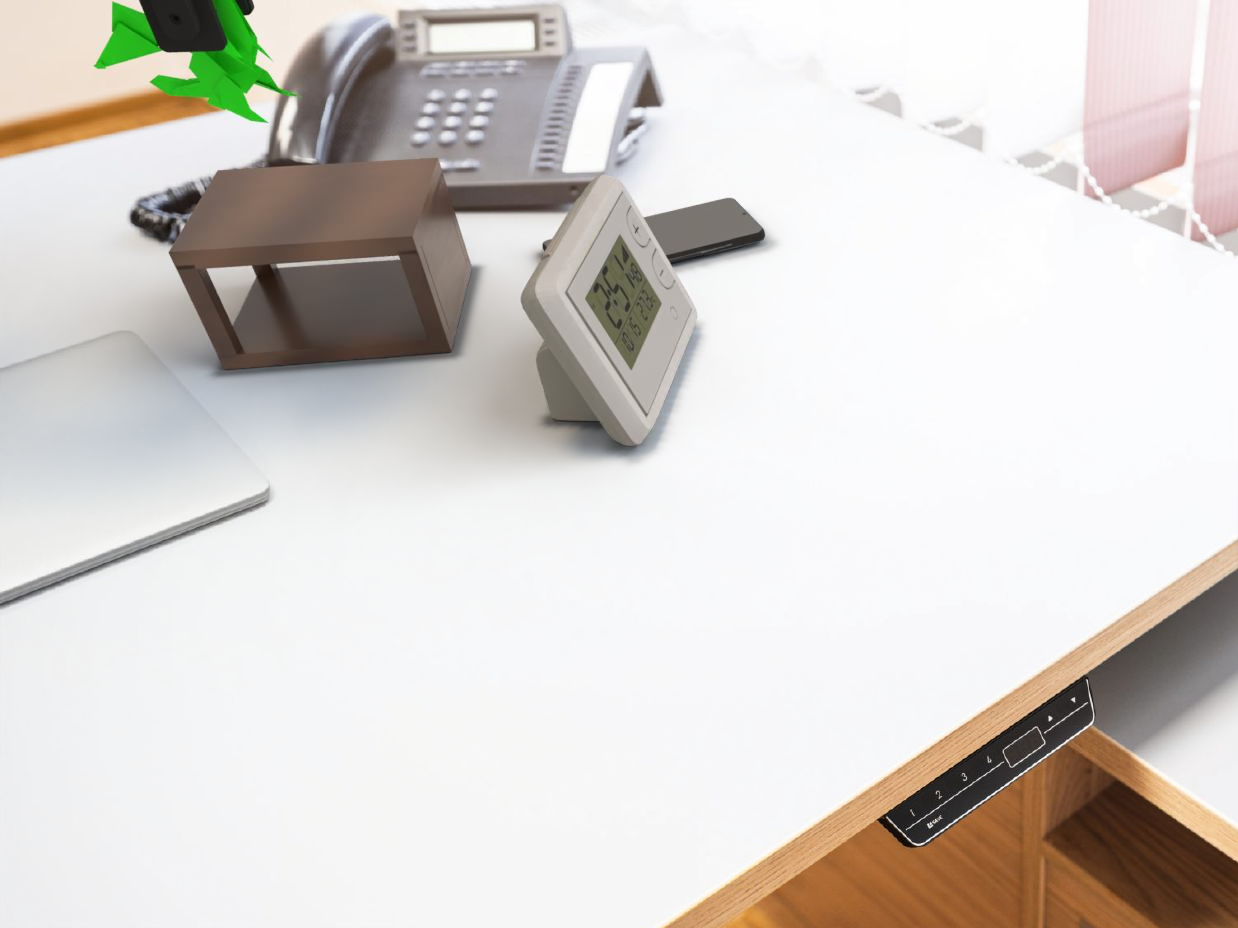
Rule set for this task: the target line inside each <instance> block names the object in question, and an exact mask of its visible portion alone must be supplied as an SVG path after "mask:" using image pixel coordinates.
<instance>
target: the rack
mask: <svg viewBox="0 0 1238 928" xmlns="http://www.w3.org/2000/svg"><path fill="white" fill-rule="evenodd" d="M457 217H458V216H457V214H456V211H455V207H454V204H453V202H452V198H451V195H450V191H449V188H448V185H447V181H446V179H445V175H444V172H443V169H442V166H441V163H440V159H439V157H424V158H408V159H407V158H406V159H391V160H388V159H387V160H373V161H354V162H353V161H352V162H337V163H320V164H319V163H318V164H303V165H302V164H301V165H285V166H269V167H250V168H233V169H217V171H216V172H215V174H214V175H213V177H212V179H211V181H210V182H209V184H208V185H207V187H206V189H205V191H204V193H203V194H202V196H201V197H200V199H199V201H198V202H197V204H196V206H195V207H194V209H193V211H192V212H191V214H190V216H189V217H188V219H187V221H186V222H185V224H184V226H183V227H182V229H181V230H180V232H179V234H178V235H177V237H176V239H175V241H174V242H173V244H172V245H171V248H169V250H168V255H169V257H170V259H171V261H172V263H173V265H174V268H175V269H176V272H177V273H178V275H179V278H180V280H181V282H182V284H183V286H184V288H185V290H186V292H187V294H188V296H189V299H190V301H191V302H192V305H193V307H194V309H195V310H196V313H197V316H198V317H199V319H200V321H201V324H202V326H203V328H204V330H205V332H206V334H207V337H208V339H209V341H210V343H211V345H212V347H213V349H214V351H215V353H216V355H217V357H218V360H219V361H220V364H221V366H222V368H223V370H239V369H250V368H262V367H263V368H264V367H274V366H275V367H278V366H289V365H301V364H303V365H304V364H313V363H314V364H315V363H326V362H328V363H329V362H339V361H341V362H342V361H351V360H353V361H354V360H363V359H364V360H366V359H378V358H390V357H391V358H392V357H405V356H415V355H428V354H441V353H452V350H453V346H454V343H455V339H456V334H457V330H458V327H459V323H460V318H461V314H462V310H463V306H464V302H465V297H466V294H467V290H468V286H469V282H470V277H471V274H472V269H473V265H472V263H471V259H470V256H469V253H468V250H467V247H466V246H467V245H466V243H465V240H464V237H463V234H462V230H461V227H460V224H459V221H458V218H457ZM383 257H384V258H385V257H386V258H387V257H398V258H399V259H389V260H388V259H387V260H373V261H359V262H346V263H345V262H344V263H330V264H314V265H299V266H298V265H297V266H285V267H278V265H280V264H282V265H283V264H296V263H298V264H299V263H311V262H324V261H340V260H342V261H343V260H356V259H369V258H370V259H371V258H372V259H373V258H383ZM250 266H251V267H252V269H253V272H254V275H255V279H254V281H253V283H252V285H251V286H250V290H249V291H248V293H247V295H246V297H245V299H244V302H243V304H242V306H241V307H240V309H239V312H238V315H237V316H236V318H235V320H234V321H233V324H232V321H231V320H230V317H229V315H228V313H227V310H226V308H225V306H224V305H223V302H222V300H221V298H220V295H219V293H218V291H217V289H216V287H215V284H214V282H213V280H212V278H211V276H210V274H209V272H208V269H209V270H210V269H221V268H222V269H223V268H237V267H250Z"/></svg>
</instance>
